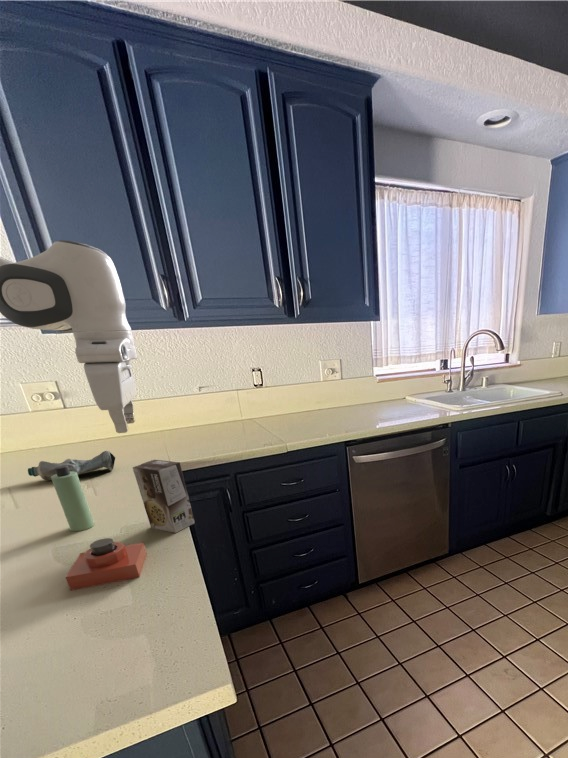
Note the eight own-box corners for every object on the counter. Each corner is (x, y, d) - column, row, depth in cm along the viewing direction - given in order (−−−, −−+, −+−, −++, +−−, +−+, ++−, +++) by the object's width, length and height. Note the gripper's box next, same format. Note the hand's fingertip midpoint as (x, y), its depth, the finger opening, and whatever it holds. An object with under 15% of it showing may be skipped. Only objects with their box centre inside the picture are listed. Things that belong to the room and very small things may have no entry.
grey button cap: (90, 558, 84) (87, 549, 83) (95, 549, 87) (92, 540, 86) (113, 554, 85) (110, 545, 84) (117, 545, 88) (114, 536, 87)
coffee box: (196, 522, 108) (181, 461, 101) (175, 533, 103) (158, 470, 96) (170, 517, 112) (154, 458, 105) (149, 528, 106) (131, 466, 100)
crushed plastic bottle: (119, 464, 158) (37, 474, 148) (113, 445, 155) (29, 455, 145) (116, 477, 148) (28, 489, 138) (111, 457, 144) (20, 468, 135)
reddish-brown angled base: (70, 590, 82) (61, 568, 80) (84, 565, 90) (77, 544, 88) (139, 577, 85) (132, 555, 83) (147, 554, 94) (141, 534, 92)
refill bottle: (67, 532, 106) (44, 471, 99) (74, 524, 110) (52, 465, 104) (91, 529, 107) (70, 468, 101) (97, 520, 112) (76, 462, 105)
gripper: (98, 348, 83) (116, 419, 89) (71, 351, 66) (96, 440, 71) (135, 347, 85) (150, 417, 91) (118, 350, 68) (139, 436, 73)
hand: (126, 427), depth 81 cm, fingers open, 8 cm apart
